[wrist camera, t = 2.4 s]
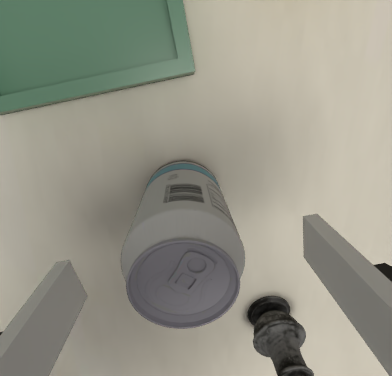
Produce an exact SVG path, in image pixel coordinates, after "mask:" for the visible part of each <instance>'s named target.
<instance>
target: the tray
mask: <svg viewBox="0 0 392 376" xmlns="http://www.w3.org/2000/svg"><path fill="white" fill-rule="evenodd" d="M194 72H195V68H194V62H193V56H192V50H191V45H190V39H189V33H188V28H187V22H186V16H185V11H184V5H183V0H0V115H4V114H9V113H13V112H18V111H23V110H28V109H32V108H37V107H42V106H46V105H51V104H56V103H61V102H65V101H70V100H75V99H80V98H84V97H89V96H94V95H98V94H103V93H108V92H113V91H117V90H122V89H127V88H131V87H136V86H141V85H146V84H150V83H155V82H160V81H165V80H169V79H174V78H179V77H183V76H188V75H193V74H194Z"/></svg>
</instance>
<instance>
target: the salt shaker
mask: <svg viewBox="0 0 392 376" xmlns="http://www.w3.org/2000/svg"><path fill="white" fill-rule="evenodd" d="M289 312H290V307H289V305H288V303H287V301H285V300H284V299H283V298H280V297H277V296H268V297H263V298H261V299H259V300H257V301H256V302H254V303H253V304H252V305H251V306H250V308H249V310H248V319H249V321H250V322H251V323H252V324H253V325H254V326H255V327H254V339H253V344H254V348H255V349H256V351H257V352H258V353H260V354H261V355H263V356H266V357H271V359H272V361H273V364H274V367H275V370H276V373H277V375H278V376H314V373H313V372H312V370H311V369H310V368H308V367H307V366H306V364H305V362H304V359H303V357H302V355H301V352H300V349H299V348H300V347H301V346H302V345H303V343H304V341H305V338H306V332H305V330H304V328H303V327H302V326H301V325H300V324H299V323H297V321H296V320H295V319H294V318H293V317H291V316H290V315H289Z"/></svg>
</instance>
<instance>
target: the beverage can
mask: <svg viewBox="0 0 392 376" xmlns="http://www.w3.org/2000/svg"><path fill="white" fill-rule="evenodd" d="M244 265H245V252H244V247H243V244H242V241H241V239H240V236H239V234H238V232H237V229H236V227H235V224H234V222H233V219H232V217H231V214H230V212H229V209H228V207H227V204H226V202H225V200H224V197H223V195H222V192H221V190H220V187H219V185H218V182H217V180H216V179H215V177H214V176H213V175H212V174H211V172H209V171H208V170H207V169H206V168H204V167H202V166H201V165H198V164H196V163H192V162H174V163H171V164H168V165H166V166H164V167H162V168H160V169H159V170H158V171H157V172H156V173H155V174H154V175H153V176H152V177H151V179H150V181H149V183H148V185H147V188H146V190H145V193H144V195H143V198H142V200H141V203H140V205H139V208H138V210H137V213H136V215H135V218H134V220H133V223H132V225H131V228H130V230H129V233H128V235H127V238H126V240H125V243H124V245H123V249H122V253H121V268H122V273H123V276H124V279H125V281H126V289H127V295H128V298H129V300H130V302H131V304H132V306H133V307H134V309H135V310H136V311H137V312H138V313H139V314H140V315H141V316H143V317H144V318H146V319H147V320H149V321H151V322H153V323H155V324H158V325H161V326H164V327H169V328H178V329H185V328H194V327H199V326H202V325H206V324H208V323H210V322H213V321H215V320H216V319H218V318H220V317H221V316H222V315H224V314H225V313H226V312H227V311H228V310H229V309H230V308H231V307H232V305H233V304H234V302H235V300H236V298H237V296H238V293H239V289H240V278H241V276H242V273H243V270H244Z"/></svg>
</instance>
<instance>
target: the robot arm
mask: <svg viewBox="0 0 392 376" xmlns="http://www.w3.org/2000/svg"><path fill="white" fill-rule="evenodd" d="M303 244H304V258H305V259H306V261H307V262H308V263H309V265H310V266H311V268H312V269H313V270H314V272H315V273H316V275H317V276H318V277H319V279H320V280H321V282H322V283H323V284H324V286H325V287H326V288H327V290H328V291H329V293H330V294H331V295H332V297H333V298H334V300H335V301H336V302H337V304H338V305H339V306H340V308H341V309H342V311H343V312H344V313H345V315H346V316H347V318H348V319H349V320H350V322H351V323H352V324H353V326H354V327H355V329H356V330H357V331H358V333H359V334H360V336H361V337H362V338H363V340H364V341H365V343H366V344H367V345H368V347H369V348H370V349H371V351H372V352H373V354H374V355H375V356H376V358H377V359H378V361H379V362H380V363H381V365H382V366H383V367H384V369H385V370H386V372H387V373H388V374H389V376H392V266H390V265H388V264H386V263H382V264H376V265H373V264H372V263H370V262H369V261H368V260H367V259H366V258H365V257H364V256H363V255H362V254H361V253H360V252H358V251H357V250H356V249H355V248H354V247H353V246H352V245H351V244H350V243H349V242H347V241H346V240H345V239H344V238H343V237H342V236H341V235H340V234H339V233H338V232H337V231H335V230H334V229H333V228H332V227H331V226H330V225H329V224H328V223H327V222H326V221H325V220H323V219H322V218H321V217H320V216H319V215H318V214H313V215H308V216H303ZM86 298H87V294H86V292H85V290H84V288H83V286H82V284H81V282H80V280H79V278H78V276H77V274H76V272H75V270H74V268H73V266H72V264H71V262H70V260H67V261H62V262H57V263H56V264H55V265H54V266H53V268H52V269H51V270H50V272H49V273H48V274H47V275H46V277H45V278H44V279H43V281H42V282H41V283H40V285H39V286H38V287H37V288H36V290H35V291H34V292H33V294H32V295H31V296H30V298H29V299H28V300H27V301H26V303H25V304H24V305H23V307H22V308H21V309H20V311H19V312H18V313H17V315H16V316H15V317H14V318H13V320H12V321H11V322H10V324H9V325H8V326H7V328H6V329H5V330H4V331H3V332H0V376H49V374H50V372H51V370H52V368H53V366H54V364H55V362H56V360H57V358H58V356H59V354H60V352H61V350H62V347H63V345H64V343H65V341H66V339H67V337H68V335H69V333H70V331H71V329H72V327H73V325H74V323H75V321H76V319H77V317H78V315H79V313H80V311H81V308H82V306H83V304H84V302H85V300H86Z"/></svg>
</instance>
